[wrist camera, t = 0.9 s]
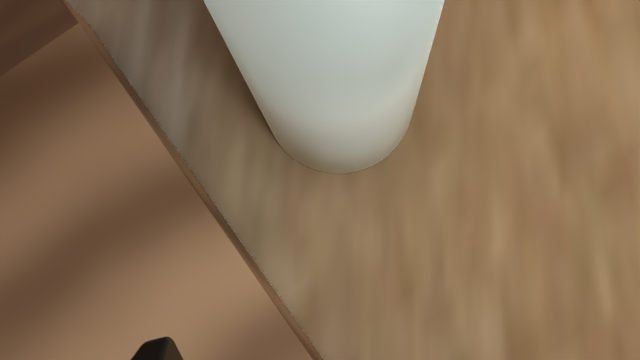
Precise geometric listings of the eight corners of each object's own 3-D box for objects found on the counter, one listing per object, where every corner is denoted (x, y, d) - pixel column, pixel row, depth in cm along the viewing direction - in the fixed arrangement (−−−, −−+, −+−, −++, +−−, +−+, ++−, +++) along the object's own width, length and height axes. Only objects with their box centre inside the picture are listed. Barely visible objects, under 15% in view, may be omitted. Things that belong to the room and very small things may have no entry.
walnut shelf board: (367, 423, 21) (370, 476, 15) (91, 636, 20) (-33, 791, 14) (87, 23, 25) (-6, -72, 19) (-151, 186, 24) (-332, 145, 18)
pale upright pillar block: (351, 203, 23) (340, 78, 10) (236, 115, 24) (94, -101, 11) (443, 88, 23) (542, -166, 11) (327, 7, 24) (291, -311, 12)
